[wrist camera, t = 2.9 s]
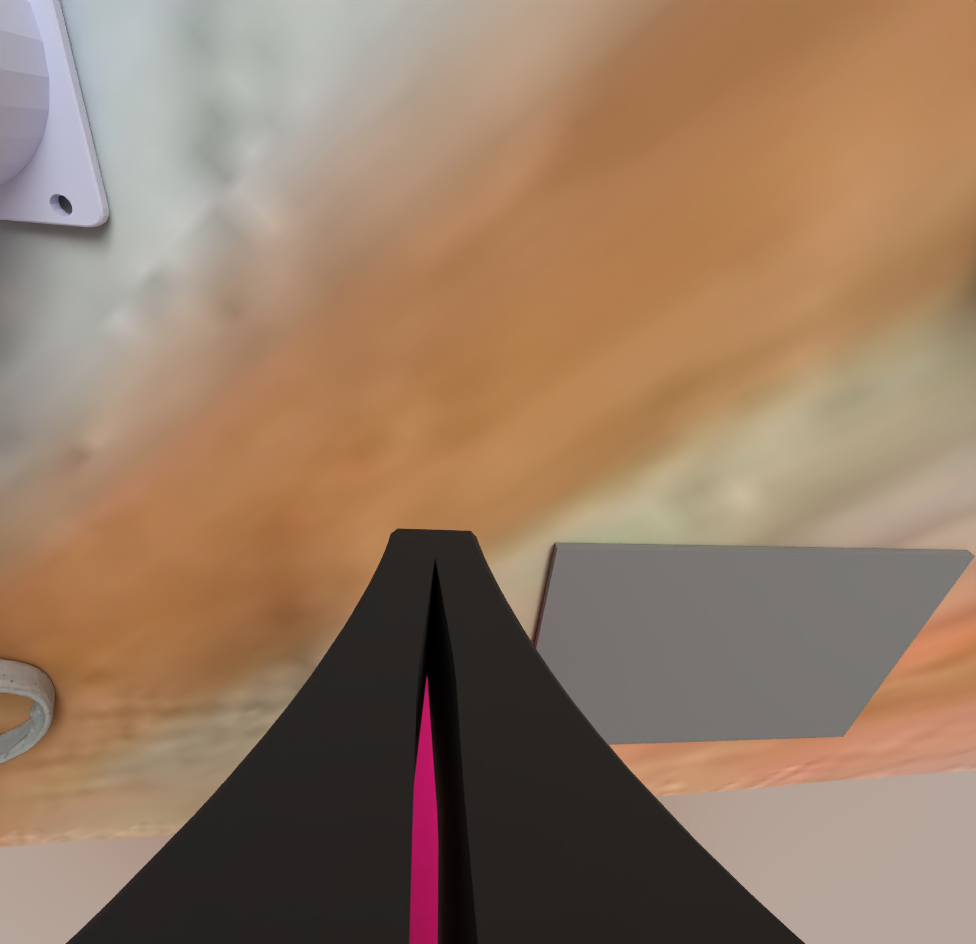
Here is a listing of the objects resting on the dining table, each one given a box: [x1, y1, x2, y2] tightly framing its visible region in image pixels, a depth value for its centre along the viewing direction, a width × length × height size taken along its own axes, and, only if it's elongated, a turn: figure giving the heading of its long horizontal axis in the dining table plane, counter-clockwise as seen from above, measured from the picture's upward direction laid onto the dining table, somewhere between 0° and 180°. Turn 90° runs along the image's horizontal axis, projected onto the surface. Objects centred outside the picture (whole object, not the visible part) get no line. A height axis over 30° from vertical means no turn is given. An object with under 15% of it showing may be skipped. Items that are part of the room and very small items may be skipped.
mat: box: [534, 543, 975, 745], centre depth 27 cm, size 20×14×1 cm
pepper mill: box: [409, 679, 438, 944], centre depth 17 cm, size 7×7×20 cm
